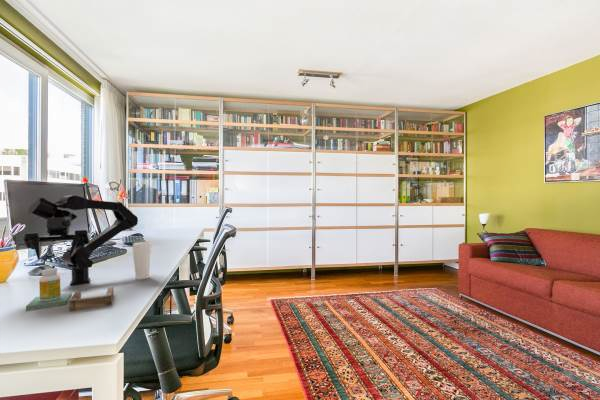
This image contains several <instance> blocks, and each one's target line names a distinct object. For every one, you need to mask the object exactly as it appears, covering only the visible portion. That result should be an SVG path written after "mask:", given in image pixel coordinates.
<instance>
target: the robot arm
mask: <svg viewBox="0 0 600 400" xmlns="http://www.w3.org/2000/svg"><path fill="white" fill-rule="evenodd" d="M87 209H88V210H90V209H91V210H92V209H93V210H103V211H111V212H112V214H113V215H114V218H115V220H114V222H113V224H112V225H110V226H109V227H107V228H106V229H104V230H103V231H101V232H99V233H98V234H97V235H95V236H94V237H93V238H91V239H90V236H89V231H88V230H87V229H79V230H77V229H76V230H74V234H69V233H70V228H71V225H72V222H73V220H75V219H77V218H78V216H77V215H76V214H74V213H73V212H70V211H78V210H87ZM27 213H28V214H29V215H32V216H34V217H37V218H40V219H42V220H43V221H44V220H45V221H46V226H45V227H46V228H47V230H46V233H47V234H48V235H47V234H46V235H41V234H40V232H26V233H24V235H23V238H22V239H23V241H24V243H25V246H26V248H28V249H31V250H34V251H35V255H36V258H37V260H40V259H41V257H42V244H43V242H44V243H46V242H57V243H58V242H71V241H72V244H71V246H70V247H68V248H67V249H65V252H64V253H63V254H62V262H63V263H65V264H66V266H67V267H68V268H71V281H70V283H69V285H70V286H73V285H81V284H87V283H90V282H91V277H90V276H89V275H90V274H89V273H90V272H89V268H92V267H93V264H94V261H93V260H91V259H90V257H91V255H92V254H93V252H94V251H96V250H97V249H98V248H100V247H101V246H103V245H104V244H106V243H107V242H109V241H110V240H111V239H113V238H114V237H116V236H117V235H118V234H120V233H122V232H123V231H126V230H129V229H132V228H134V227H136V226H137V225H138V223H139V218H138V217H137V215H136V214H134V213H133V212H132V211H131V210H130V209H128V207H126V206H125V205H124V203H122V202H121V201H104V200H95V199H88V198H86V197H83V196H78V195H63V197H62V196H61V198H60V199H59V200H58V201H56V202H51V201H49V200H47V199H46V198H44V197H38V198H37V200H35V201H33V203H32V204H30V206H29V208H28V210H27Z"/></svg>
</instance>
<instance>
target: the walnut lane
mask: <svg viewBox="0 0 600 400" xmlns="http://www.w3.org/2000/svg"><path fill="white" fill-rule="evenodd" d="M81 292H82V291H75V292H73V293H74V294H73V295H72V296H71V298H70V299H69V301H68V309H69V312H71V311H72V312H74V311H79V310H80V311H81V310H87V309H94V308H101V307H107V306H112V303H113V299H114V295H115V294H114V292H115V291H114V287H113V286H112V287H108V288H107V291H106V294H105V295H96V296H90V297H82V293H81Z"/></svg>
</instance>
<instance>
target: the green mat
mask: <svg viewBox="0 0 600 400" xmlns="http://www.w3.org/2000/svg"><path fill="white" fill-rule="evenodd" d="M72 294H73V293H72V292H64V293H61V296H60V298H58V299H55V300H51V301H41V300H40V296H35V297H34V298H33V299H32V300H30V302H29V303H28V304H27V305H26V306H25V310H26V311H31V310H37V309H43V308H51V307H58V306H65V305H67V303H69V301H70V299H71V298H72V296H73V295H72Z"/></svg>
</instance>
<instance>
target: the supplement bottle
mask: <svg viewBox="0 0 600 400" xmlns="http://www.w3.org/2000/svg"><path fill="white" fill-rule="evenodd" d="M41 275H42V276H41V277H40V278H39V297H40V300H41V301H51V300H55V299H58V298H60V296H61V294H62V292H61V276H60V275H59V274H58V269H57V268H45V269H42V270H41Z"/></svg>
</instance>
